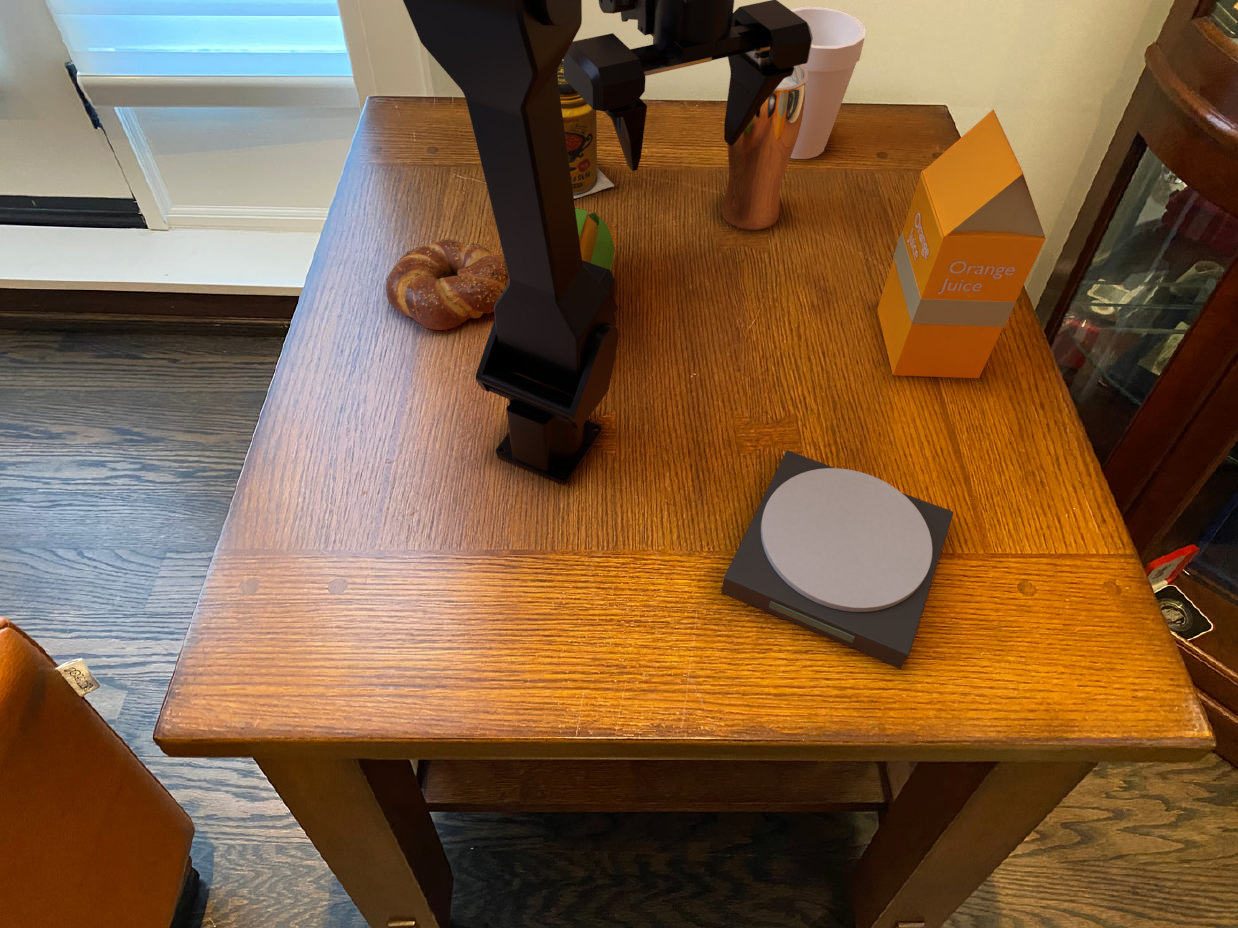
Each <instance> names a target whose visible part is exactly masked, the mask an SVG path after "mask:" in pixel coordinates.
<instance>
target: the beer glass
mask: <svg viewBox="0 0 1238 928" xmlns="http://www.w3.org/2000/svg"><path fill="white" fill-rule="evenodd" d="M793 67H794V72H793V74H792V75H791V76H789V77H786V78H784V79H783V80H782V82H781V83H780V84H779V85H778V87H777V88H776V89H775V90H774V91H773V93H772V94H771V95H770V96H769V98H768V99H767V100H766V101H765V102H764V104H763V105H762V106H761V108H760V109H759V110H758V112H757V113H756V114H755V116H754V117H753V119H752V120H751V122H750V123H749V124H748V126H747V127H746V129H745V130H744V132H743V133H742V135H741V136H740V137H739V139H738V140H737V142H736V143H735V144H734V145H731V146H730V145H729V144H727V143H726V145H727V147H726V148H727V161H728V162H727V163H728V181H727V186H726V189H725V193H724V196H723V198H722V202H721V205H720V214H721V216H722V218H723V219H724V220H725V221H726V222H727V223H728V224H729V225H731V226H733V227H735V228H738V229H742V230H745V231H746V230H747V231H760V230H764V229H767V228H770V227H772V226H773V225H775V224H776V223H777V222H778V221H779V217H780V211H781V209H780V208H781V207H780V206H781V204H780V202H781V201H780V191H781V187H782V181H783V178H784V176H785V173H786V170H787V167H788V166H789V162H790V160H791V158H790V157H791V155H792V152H793V150H794V147H795V144H796V141H797V138H798V135H799V131H800V127H801V122H802V117H803V111H804V104H805V95H806V85H807V78H808V72H807V70H806V68H805V67H804V66H803V65H802V64H801V65H797V66H793Z"/></svg>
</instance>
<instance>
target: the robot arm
mask: <svg viewBox="0 0 1238 928" xmlns="http://www.w3.org/2000/svg"><path fill="white" fill-rule="evenodd" d="M402 2H403V4H404V6H405V10H406V11H407V13H408V16H409V18H410V20H411V23H412V25H413V27H414V30H415V32H416V34H417V37H418V39H419V41H420V43H421V45H422V46H423V47H424V48H425V49H426V51H427V52H428V53H430V56H432V57H433V59H434V60H435V61H436V62H437V63H438V64H439V66H440V67H441V68H442V69H443V71H445V73H446V74H447V75H448V77H450V79H451V80H452V81H453V83H455V85H457V86H458V88H459V89H460V90H461V92H462V93H463V95H464V99H465V102H466V106H467V107H466V108H467V110H468V114H469V119H470V123H471V127H472V131H473V136H474V139H475V144H476V148H477V152H478V156H479V161H480V164H481V169H482V172H483V176H484V180H485V184H486V189H487V194H488V197H489V201H490V205H491V209H492V213H493V218H494V223H495V226H496V231H497V235H498V238H499V243H500V246H501V251H502V256H503V257H504V259H505V263H506V268H507V272H508V277H509V283H508V285H507V286H506V288H505V289H504V291H503V292H502V294H501V295H500V297H499V298H498V300H497V301H496V303H495V304H494V311H493V313H494V320H493V322H492V326H491V329H490V332H489V335H488V337H487V341H486V344H485V347H484V350H483V352H482V354H481V355H482V356H481V358H480V361H479V363H478V367H477V370H476V373H475V377H474V379H475V381H476V382H477V384H478V385H479V387H480V388H481V390H483V391H484V392H487V393H489V392H490V393H493V394H495V395H498V396H500V397H503V398H505V399H507V400H508V405H507V407H506V408H505V410H506V411H505V412H506V418H507V426H508V433H507V434H506V435H505V437H504V438H503V439H502V441H501V442H500V443H499V444H498V446H497V447H496V448H495V456H496V457H497V458H498V459H500V460H502V461H505V462H507V463H510V464H512V465H514V466H517V467H519V468H522V469H523V470H526V471H529V472H532V473H534V474H536V475H538V476H541V477H543V478H545V479H548V480H550V481H553V482H555V483H558V484H560V485H566V484H567V483H569V482H570V480H571V479H572V477H574V476H573V475H574V474H575V473H576V471H577V470H578V468H579V467H580V466H581V464H582V463H583V461H584V459H585V458H586V456H587V455H588V453H589V452H590V451H591V449H592V448H593V446H594V445H595V444H596V442H597V441H598V439H599V438H600V436H601V435H602V432H603V427H602V426H601V424H600V423H597V422H594V421H591V420H589V418H590V416H591V415H592V414H593V412H594V411H595V409H596V408H597V407H598V406H599V404H600V403H601V401H602V400H603V399H604V398H605V396H606V395H607V394H608V392H609V390H610V388H611V387H610V386H611V383H612V382H611V381H612V376H613V371H614V367H615V361H616V355H617V350H618V346H619V340H620V339H619V338H620V331H619V329H618V327H617V318H616V313H617V312H618V311H619V305H618V304H617V301H616V295H615V294H616V293H615V291H616V290H615V289H616V280H615V277H614V275H613V273H612V270H611V271H610V270H609V269H607V268H604V267H601V266H598V265H595V264H592V263H590V262H587V261H584V260H582V256H581V249H580V241H579V234H578V226H577V219H576V211H575V208H576V206H575V205H576V204H575V199H574V197H573V189H572V182H571V174H570V167H569V160H568V152H567V145H566V137H565V130H564V122H563V115H562V108H561V100H560V93H559V85H558V68H559V66H560V64H561V62H562V61H563V64H564V79H565V80H566V81H567V82H568V83H569V84H570V85H571V86H572V87H573V88H574V89H575V91H576V92H577V93H578V94H579V95H580V96H581V97H582V98H583V99H584V100H585V101H586V103H587V104H588V105H589V106H590V107H591V108H592V109H593V110H596V111H599V112H604V113H605V114H606V116H607V117H609V118H610V120H611V123H612V125H613V128H614V130H615V134H616V136H617V139H618V142H619V145H620V148H621V151H622V154H623V157H624V160H625V162H626V165H627V167H628V168H629V169H630V170H631V171H632V172H636V171H638V169H639V167H640V162H641V159H642V150H643V144H644V134H645V127H646V119H647V111H648V104H646V103H645V102H644V101H643V100H642V99H641V97H642V95H644V93H645V92H646V77H647V76H652V75H656V74H661V73H664V72H669V71H674V70H678V69H682V68H687V67H691V66H692V67H693V66H696V65H699V64H705V63H708V62H712V61H716V60H720V59H724V58H727V59H728V65H729V70H730V77H729V85H728V91H727V92H728V93H727V100H726V108H725V115H724V125H723V126H724V127H723V128H724V130H723V132H724V134H723V139H724V142H725V143H726V145H727V144H729V145H730V146H731V145H734V144H735V143H736V142H737V140H738V139H739V137H740V136H741V135H742V133H743V132H744V130H745V129H746V127H747V126H748V124H749V123H750V122H751V120H752V119H753V117H754V116H755V114H756V113H757V112H758V110H759V109H760V108H761V106H762V105H763V104H764V102H765V101H766V100H767V99H768V98H769V96H770V95H771V94H772V93H773V91H774V90H775V89H776V88H777V87H778V85H779V84H780V83H781V82H782V80H783V79H784V78H786V77H789V76H791V75H792V74H793V72H794V67H793V66H797V65H801V64H806V63H807V62H808V59H809V55H810V50H811V45H812V39H813V37H812V33H811V29H810V26H809V25H808V23H807V22H806V21H805V20H803V19H802V18H800V17H799V16H798V15H796V14H795V13H794V12H792V11H791V10H790V8H788V7H787V6H786V5H784V4H782V2H780V1H779V0H766V1H761V2H756V3H752V4H748V5H742V6H739V7H738V8H736V10H735V11H734V7H735V0H598V5H599V8H600V11H601V12H602V13H603V14H613V15H614V14H619V13H620V19H621V22H622V23H623V22H624V23H627V22H628V21H629V20H633V21H637V27H636V28H637V30H638V31H639V32H640V33H641V34H642V35H643V36H651V37H652V44H648V45H644V46H643V45H642V46H638V47H635V48H630V47H628V46H627V44H625V43H624V42H623V41H622V40H621V39H620V38H619V37H618V36H617V35H616V34H615V33H614V32H613V33H607V34H602V35H599V36H598V35H597V36H592V37H588V38H583V39H577V40H575V38H576V36H577V35H578V32H579V30H580V29H581V26H582V23H583V22H582V21H583V1H582V0H402Z"/></svg>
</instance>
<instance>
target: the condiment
mask: <svg viewBox="0 0 1238 928" xmlns="http://www.w3.org/2000/svg"><path fill="white" fill-rule="evenodd" d="M558 85H559V93H560V100H561V108H562V115H563V122H564V130H565V137H566V145H567V152H568V160H569V167H570V174H571V182H572V189H573V197H574V200H575V199H578V198H582V197H584V196H587V195H590V194H591V195H592V194H595V193H597V192H600V191H602V190H605V189H609V188H613V187H615V184H614V183H613V182H612V181H611V180H610V179H609V178H608V177H607V176H606V175H605V174H604V173H603V172H602V171H601V169H599V167H598V136H597V135H598V131H597V129H598V127H597V125H598V124H597V110H593V109H592V108H591V107H590V106H589V105H588V104H587V103H586V101H585V100H584V99H583V98H582V97H581V96H580V95H579V94H578V93H577V92H576V91H575V89H574V88H573V87H572V86H571V85H570V84H569V83H568V82H567V81H566V80H565V79H564V64H563V60H562V62H561V64H560V66H559V68H558Z"/></svg>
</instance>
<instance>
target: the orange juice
mask: <svg viewBox="0 0 1238 928" xmlns="http://www.w3.org/2000/svg"><path fill="white" fill-rule="evenodd" d="M1046 240H1047V238H1046V235H1045V232H1044V229H1043V227H1042V224H1041V221H1040V218H1039V214H1038V212H1037V209H1036V206H1035V203H1034V200H1033V198H1032V195H1031V191H1030V189H1029V186H1028V183H1027V180H1026V177H1025V173H1024V171H1023V170H1022V167H1021V165H1020V162H1019V160H1018V159H1017V156H1016V154H1015V152H1014V150H1013V147H1012V145H1011V144H1010V141H1009V138H1008V137H1007V135H1006V133H1005V131H1004V128H1003V126H1002V124H1001V122H1000V120H999V117H998V115H997V114H996V111H995V109H994V108H992V110H990V111H989V112H988V113H987V114H986V115H985V116H983V118H981V119H980V120H979V121H978V122H977V123H976V124H975V125H974V126H973V127H971V128H970V129H969V130H968V131H967V132H966V133H964V134H963V135H962V136H961V137H960V138H959V139H958V140H957V141H955V142H954V143H953V144H952V145H951V146H950V147H948V148H947V149H946V150H945V151H944V152H943V153H942V154H941V155H940V156H938V157H937V158H936V159H935V160H934V161H933V162H932V163H931V164H930V165H928V166H927V167H926V168H925V169H921V172H920V173H919V179H918V181H917V184H916V188H915V192H914V194H913V196H912V200H911V203H910V206H909V209H908V212H907V215H906V218H905V221H904V224H903V228H902V231H901V232H900V235H899V239H898V241H897V244H896V248H895V250H894V253H893V259H892V263H891V264H890V268H889V271H888V274H887V278H886V280H885V284H884V287H883V290H882V293H881V296H880V298H879V302H878V305H877V308H876V311H877V315H878V319H879V323H880V329H881V332H882V336H883V340H884V344H885V349H886V353H887V357H888V360H889V366H890V370H891V374H892V376H895V377H897V376H898V377H929V378H930V377H931V378H954V379H955V378H958V379H980V377H981V375H982V373H983V371H984V369H985V367H986V364H987V362H988V361H989V358H990V356H991V354H992V352H993V350H994V348H995V346H996V344H997V341H998V339H999V337H1000V335H1001V332H1002V331H1003V329H1004V328H1005V326H1006V324H1007V323H1008V321H1009V318H1010V316H1011V314H1012V313H1013V310H1014V308H1015V306H1016V304H1017V300H1018V298H1019V296H1020V293H1021V291H1022V289H1023V287H1024V286H1025V283H1026V281H1027V279H1028V277H1029V275H1030V273H1031V271H1032V268H1033V266H1034V264H1035V262H1036V260H1037V258H1038V256H1039V254H1040V252H1041V250H1042V248H1043V246H1044V244H1045V242H1046Z"/></svg>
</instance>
